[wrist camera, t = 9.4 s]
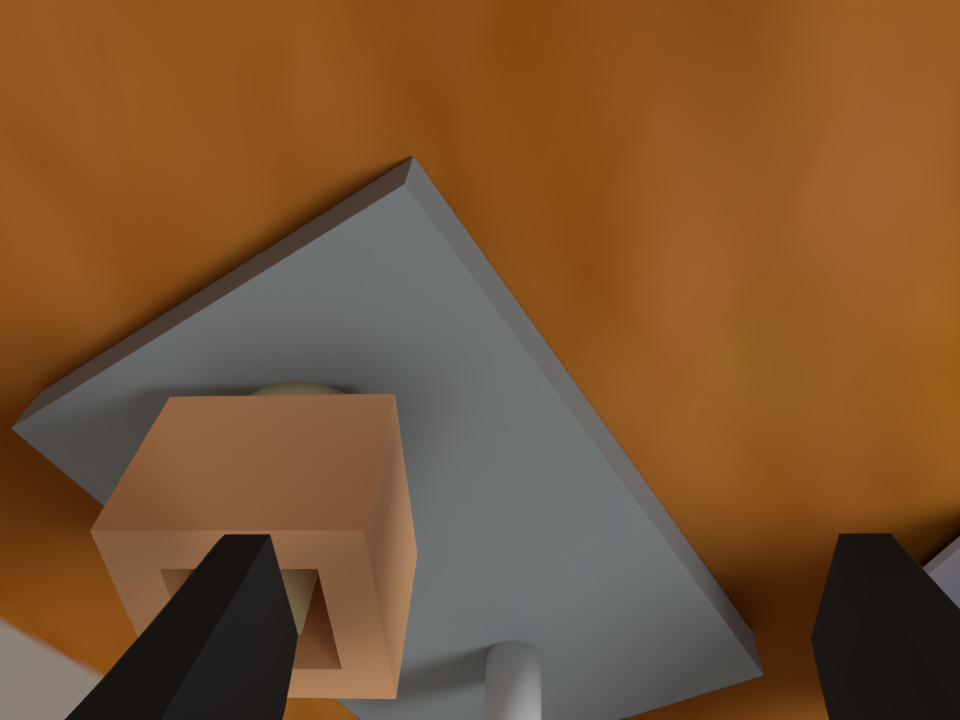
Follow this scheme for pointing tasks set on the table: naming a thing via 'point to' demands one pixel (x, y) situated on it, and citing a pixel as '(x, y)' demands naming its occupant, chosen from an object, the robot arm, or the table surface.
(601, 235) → the table surface
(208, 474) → the collar
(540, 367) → the board
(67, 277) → the table surface
